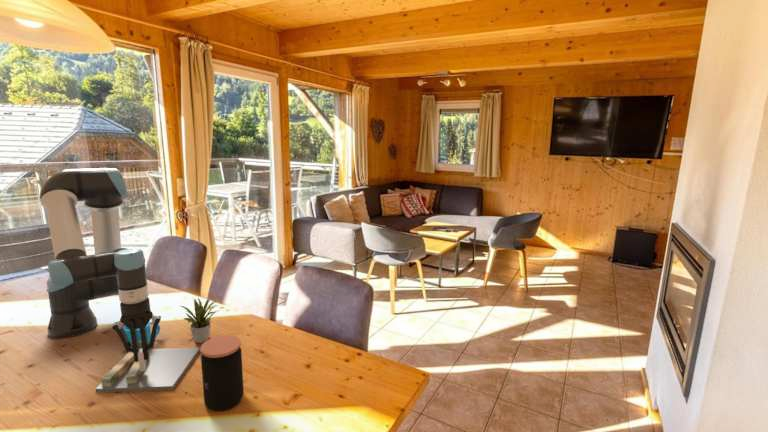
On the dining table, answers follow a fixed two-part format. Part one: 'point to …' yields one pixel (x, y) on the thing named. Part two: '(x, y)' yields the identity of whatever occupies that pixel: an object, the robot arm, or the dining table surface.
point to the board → (157, 371)
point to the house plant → (200, 321)
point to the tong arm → (134, 373)
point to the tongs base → (119, 368)
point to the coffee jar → (222, 372)
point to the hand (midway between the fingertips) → (143, 369)
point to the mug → (139, 332)
